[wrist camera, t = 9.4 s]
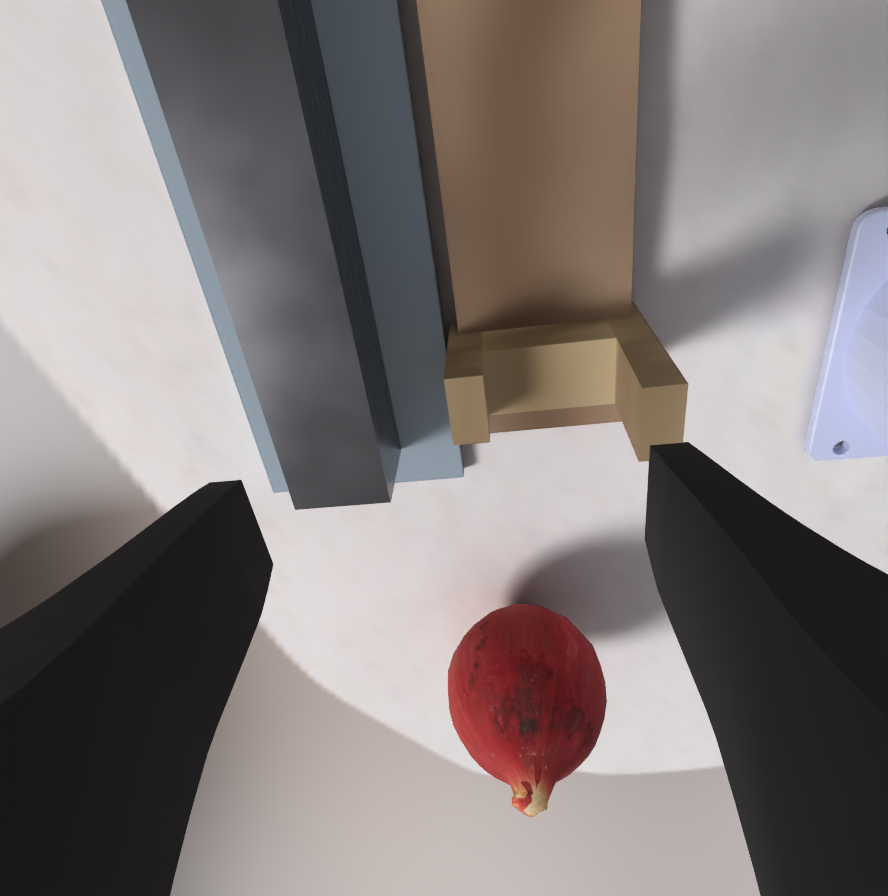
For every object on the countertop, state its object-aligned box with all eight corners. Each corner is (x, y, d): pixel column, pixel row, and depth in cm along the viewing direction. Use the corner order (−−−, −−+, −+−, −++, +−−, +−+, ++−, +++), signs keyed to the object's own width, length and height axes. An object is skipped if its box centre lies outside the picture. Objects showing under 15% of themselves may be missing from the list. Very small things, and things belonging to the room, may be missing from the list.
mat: (326, -509, 11) (320, -534, 10) (463, 469, 22) (463, 476, 21) (-30, -413, 11) (-50, -431, 11) (277, 484, 22) (273, 492, 22)
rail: (238, -358, 11) (168, -483, 9) (401, 449, 21) (390, 502, 18) (90, -321, 12) (-18, -432, 9) (317, 456, 21) (294, 509, 18)
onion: (452, 557, 24) (442, 749, 17) (597, 563, 24) (646, 760, 17) (450, 654, 27) (441, 849, 20) (579, 660, 27) (613, 858, 20)
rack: (659, -410, 11) (791, -763, 6) (630, 405, 20) (677, 507, 15) (361, -339, 12) (283, -612, 7) (462, 420, 21) (458, 523, 16)
